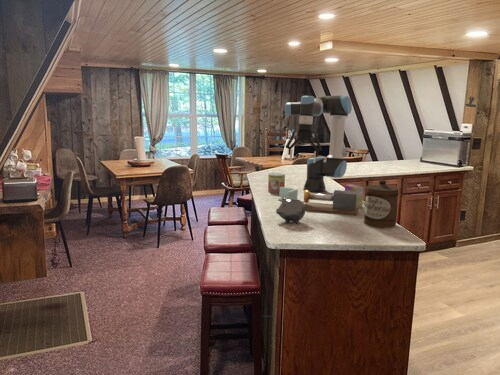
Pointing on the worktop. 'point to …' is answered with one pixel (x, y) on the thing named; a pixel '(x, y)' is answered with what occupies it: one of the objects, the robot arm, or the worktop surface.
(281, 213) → the piggy bank
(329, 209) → the base board
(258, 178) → the worktop surface
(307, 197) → the shaft
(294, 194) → the l-shaped corner panel
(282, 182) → the canned food
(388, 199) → the wooden container
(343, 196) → the housing
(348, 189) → the box
